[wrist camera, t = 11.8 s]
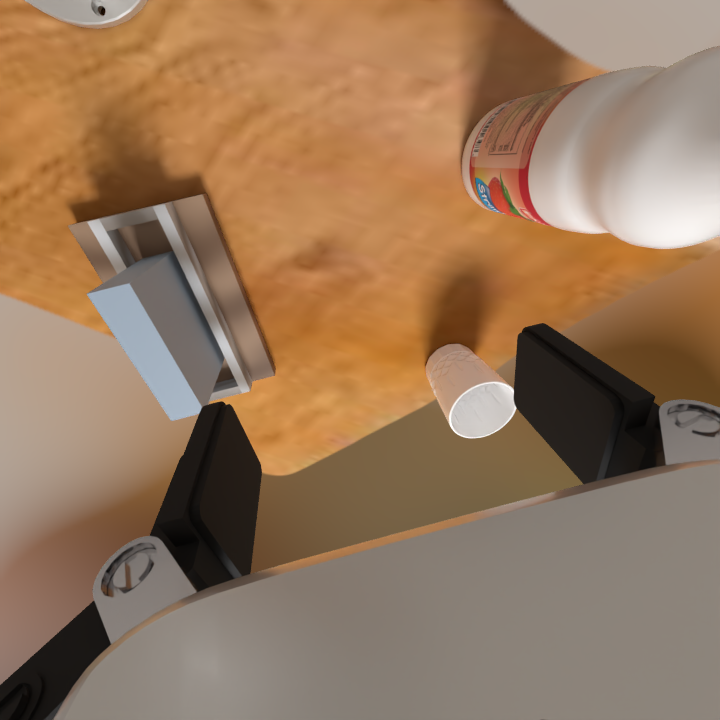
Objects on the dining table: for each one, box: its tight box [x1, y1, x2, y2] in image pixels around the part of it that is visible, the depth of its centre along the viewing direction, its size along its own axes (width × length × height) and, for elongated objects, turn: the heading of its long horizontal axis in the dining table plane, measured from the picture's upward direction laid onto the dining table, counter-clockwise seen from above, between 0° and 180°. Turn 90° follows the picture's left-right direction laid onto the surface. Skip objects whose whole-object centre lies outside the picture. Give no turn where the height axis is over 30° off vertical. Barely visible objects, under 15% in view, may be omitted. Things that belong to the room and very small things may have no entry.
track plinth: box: [68, 193, 275, 401], centre depth 35 cm, size 20×12×4 cm, turn 11°
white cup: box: [425, 344, 516, 438], centre depth 42 cm, size 8×8×10 cm
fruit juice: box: [462, 46, 720, 249], centre depth 22 cm, size 9×9×28 cm
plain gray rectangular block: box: [87, 251, 225, 421], centre depth 31 cm, size 12×3×10 cm, turn 12°
